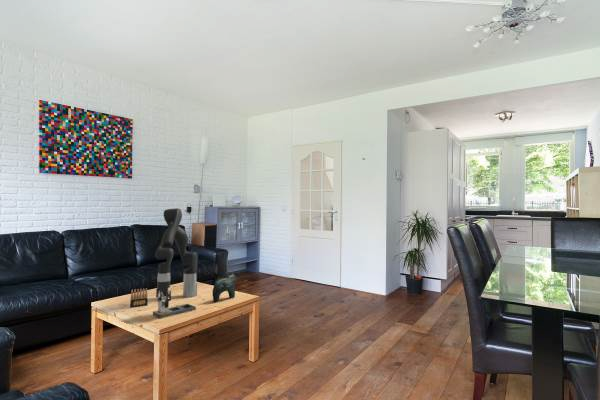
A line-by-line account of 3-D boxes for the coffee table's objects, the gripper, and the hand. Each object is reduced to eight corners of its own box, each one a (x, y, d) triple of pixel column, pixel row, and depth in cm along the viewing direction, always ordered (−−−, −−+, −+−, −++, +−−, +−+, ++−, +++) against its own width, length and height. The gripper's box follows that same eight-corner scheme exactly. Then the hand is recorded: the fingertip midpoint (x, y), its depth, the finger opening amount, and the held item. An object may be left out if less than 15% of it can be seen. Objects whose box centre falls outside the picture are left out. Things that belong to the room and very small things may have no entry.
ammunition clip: (130, 307, 221) (130, 289, 222) (129, 307, 223) (130, 289, 223) (147, 305, 227) (148, 287, 228) (147, 304, 229) (147, 287, 229)
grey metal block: (164, 313, 211) (165, 299, 211) (168, 315, 208) (168, 300, 208) (157, 315, 208) (158, 300, 208) (161, 316, 205) (161, 302, 205)
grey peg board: (187, 306, 226) (187, 303, 226) (195, 309, 220) (195, 306, 220) (152, 314, 208) (152, 311, 208) (160, 318, 202) (160, 314, 202)
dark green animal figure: (232, 296, 255) (233, 270, 255) (238, 297, 251) (238, 271, 251) (210, 301, 239) (211, 273, 240) (216, 303, 235) (217, 275, 236)
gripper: (175, 280, 207) (174, 307, 206) (164, 277, 216) (163, 302, 215) (163, 282, 201) (163, 309, 201) (152, 279, 210) (151, 305, 210)
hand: (163, 306), depth 208 cm, fingers open, 8 cm apart
